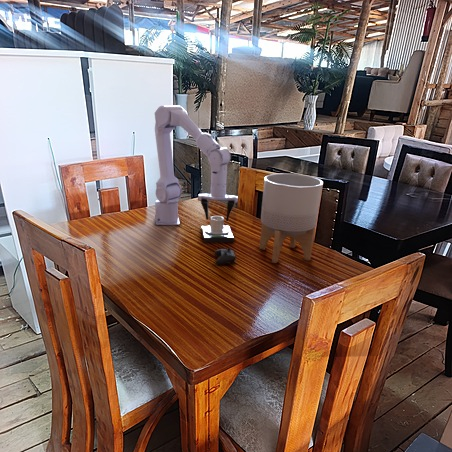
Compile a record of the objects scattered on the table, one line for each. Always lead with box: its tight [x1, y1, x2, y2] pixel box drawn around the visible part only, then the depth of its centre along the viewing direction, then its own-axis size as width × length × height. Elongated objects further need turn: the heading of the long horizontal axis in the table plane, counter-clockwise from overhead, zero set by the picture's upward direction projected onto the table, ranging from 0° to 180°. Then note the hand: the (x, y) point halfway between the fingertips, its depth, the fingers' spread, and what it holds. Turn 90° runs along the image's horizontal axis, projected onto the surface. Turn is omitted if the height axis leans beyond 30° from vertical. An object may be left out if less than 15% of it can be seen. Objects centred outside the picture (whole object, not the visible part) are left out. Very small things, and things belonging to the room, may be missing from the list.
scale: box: [201, 225, 235, 244], centre depth 154 cm, size 11×13×2 cm
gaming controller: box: [214, 247, 236, 266], centre depth 134 cm, size 10×5×6 cm
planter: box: [259, 172, 324, 264], centre depth 135 cm, size 19×19×26 cm
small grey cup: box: [209, 215, 225, 231], centre depth 153 cm, size 5×5×4 cm
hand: (217, 219), depth 152 cm, fingers open, 7 cm apart
